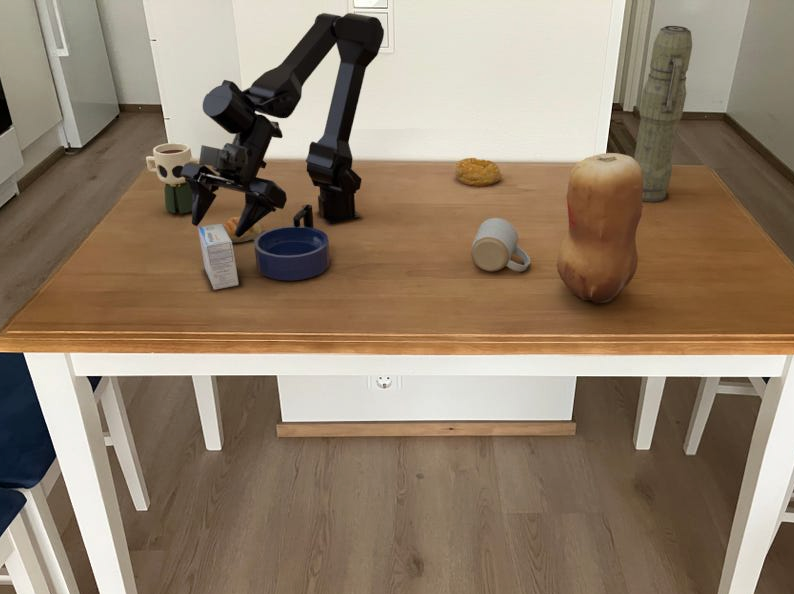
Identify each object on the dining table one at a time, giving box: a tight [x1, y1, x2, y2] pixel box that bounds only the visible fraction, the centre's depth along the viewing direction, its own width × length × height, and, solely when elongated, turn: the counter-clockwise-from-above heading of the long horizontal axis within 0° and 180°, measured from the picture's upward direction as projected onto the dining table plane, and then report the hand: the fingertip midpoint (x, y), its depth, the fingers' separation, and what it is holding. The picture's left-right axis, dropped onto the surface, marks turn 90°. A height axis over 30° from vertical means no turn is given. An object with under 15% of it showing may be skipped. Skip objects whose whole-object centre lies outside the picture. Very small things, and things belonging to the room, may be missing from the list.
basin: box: [253, 225, 331, 282], centre depth 140 cm, size 13×13×5 cm
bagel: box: [453, 157, 503, 187], centre depth 178 cm, size 10×11×5 cm
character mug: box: [145, 142, 200, 214], centre depth 157 cm, size 11×7×13 cm, turn 91°
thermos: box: [633, 25, 693, 203], centre depth 165 cm, size 9×12×35 cm
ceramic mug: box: [470, 217, 531, 272], centre depth 141 cm, size 11×8×8 cm
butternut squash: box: [556, 152, 644, 304], centre depth 127 cm, size 14×13×25 cm
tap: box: [292, 203, 315, 228], centre depth 143 cm, size 7×4×9 cm, turn 166°
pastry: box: [222, 215, 263, 244], centre depth 149 cm, size 9×7×4 cm
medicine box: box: [197, 223, 240, 290], centre depth 134 cm, size 8×4×9 cm, turn 25°
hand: (215, 230), depth 131 cm, fingers open, 9 cm apart
